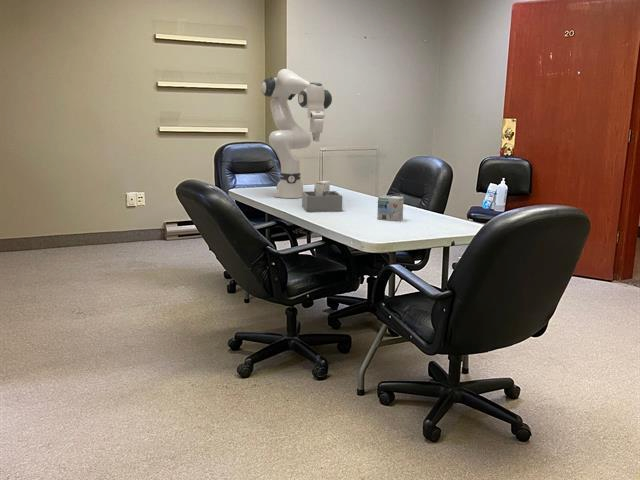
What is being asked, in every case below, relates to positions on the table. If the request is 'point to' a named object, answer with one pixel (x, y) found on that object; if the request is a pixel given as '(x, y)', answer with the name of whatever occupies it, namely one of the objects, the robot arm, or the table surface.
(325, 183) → the syrup box
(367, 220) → the table surface
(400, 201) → the light bulb box
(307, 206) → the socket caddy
